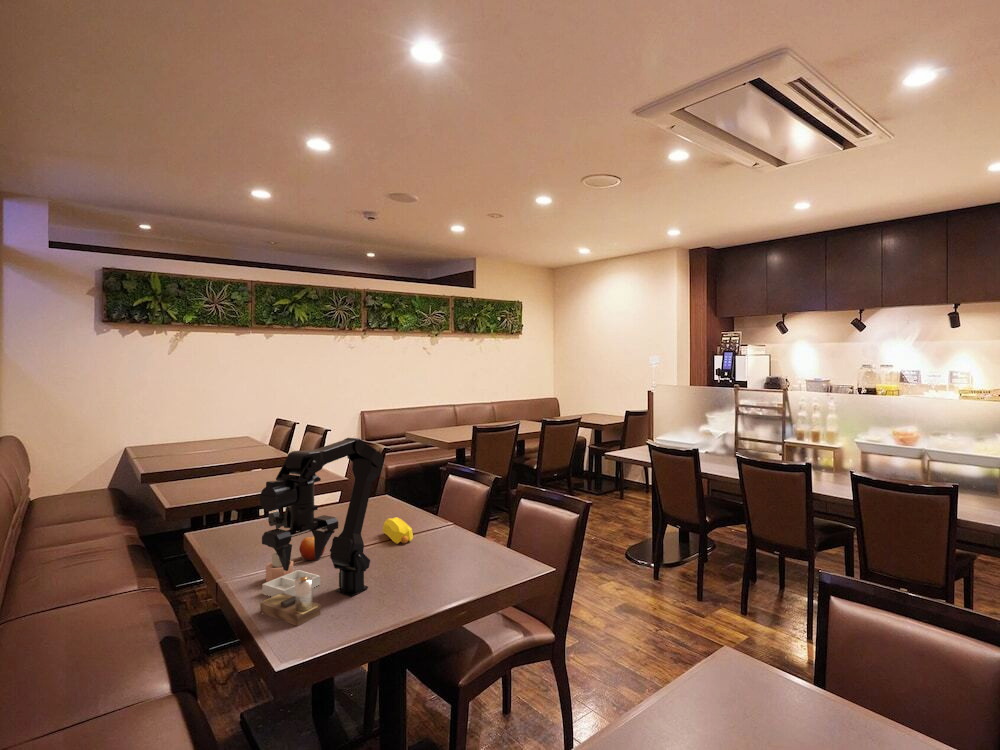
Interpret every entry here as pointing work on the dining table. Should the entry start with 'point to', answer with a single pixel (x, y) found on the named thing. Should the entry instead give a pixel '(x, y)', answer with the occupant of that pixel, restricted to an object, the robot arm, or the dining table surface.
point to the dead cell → (276, 561)
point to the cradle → (288, 609)
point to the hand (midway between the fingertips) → (302, 564)
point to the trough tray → (288, 583)
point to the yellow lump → (397, 530)
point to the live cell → (303, 594)
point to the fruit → (308, 549)
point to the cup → (277, 571)
